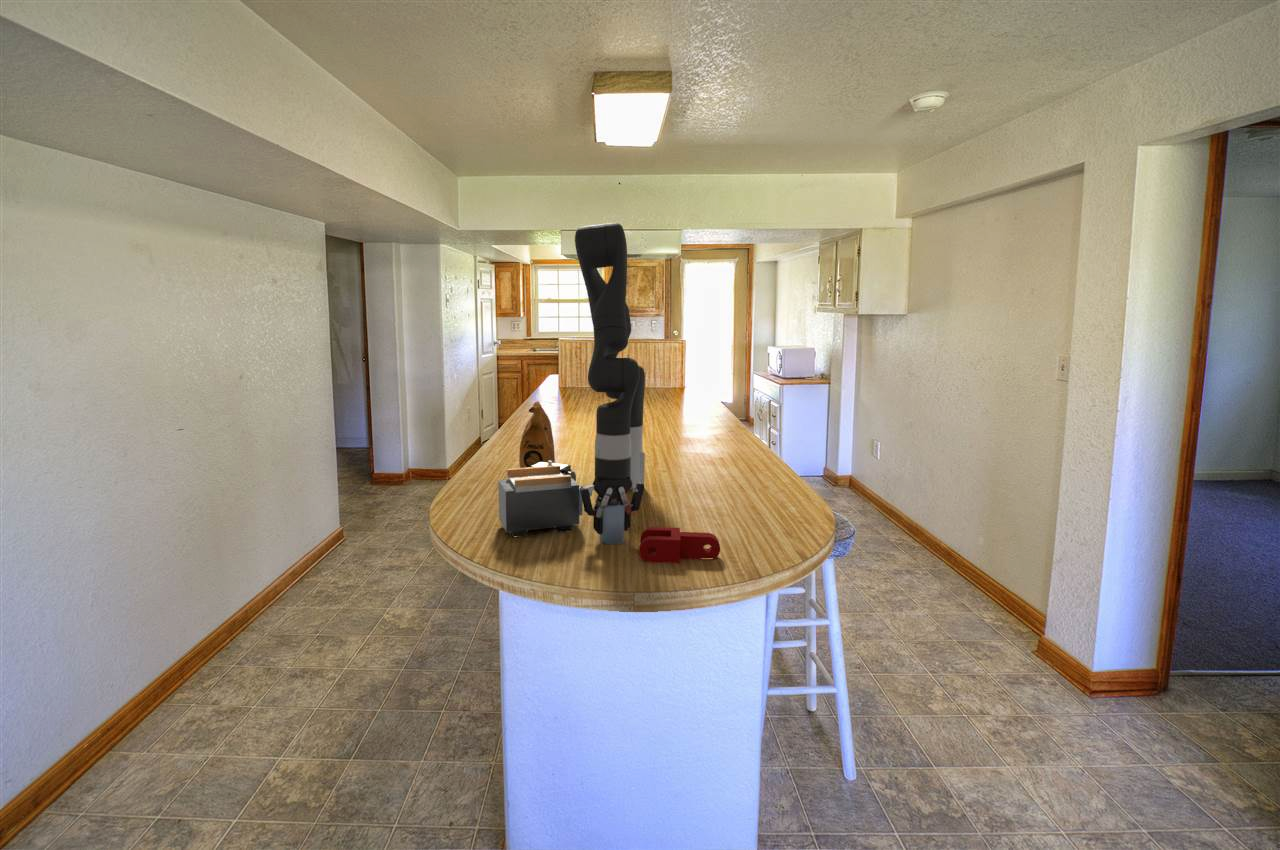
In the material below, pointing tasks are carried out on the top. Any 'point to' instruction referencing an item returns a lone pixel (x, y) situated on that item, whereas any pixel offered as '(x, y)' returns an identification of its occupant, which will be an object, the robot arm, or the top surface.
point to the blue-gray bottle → (613, 523)
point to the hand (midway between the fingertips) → (611, 531)
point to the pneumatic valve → (563, 468)
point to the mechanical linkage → (676, 545)
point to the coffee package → (537, 439)
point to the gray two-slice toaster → (538, 500)
